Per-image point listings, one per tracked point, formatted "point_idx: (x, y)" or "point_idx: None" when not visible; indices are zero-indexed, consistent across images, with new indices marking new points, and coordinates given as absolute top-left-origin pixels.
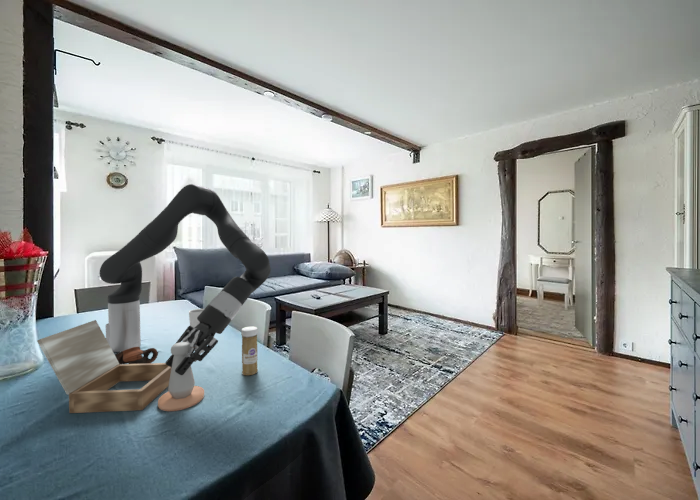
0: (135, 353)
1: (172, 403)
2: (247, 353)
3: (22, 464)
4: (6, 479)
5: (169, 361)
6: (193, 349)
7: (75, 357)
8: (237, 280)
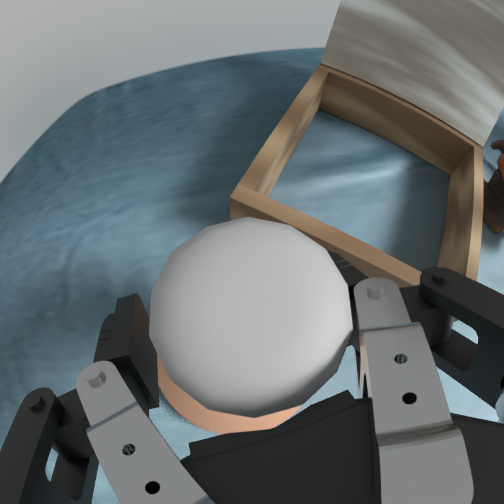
0: None
1: None
2: None
3: (146, 84)
4: (119, 83)
5: None
6: (91, 423)
7: (404, 18)
8: None
